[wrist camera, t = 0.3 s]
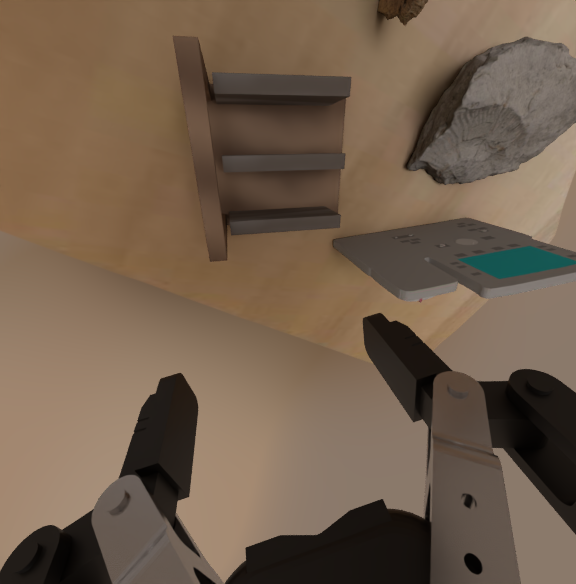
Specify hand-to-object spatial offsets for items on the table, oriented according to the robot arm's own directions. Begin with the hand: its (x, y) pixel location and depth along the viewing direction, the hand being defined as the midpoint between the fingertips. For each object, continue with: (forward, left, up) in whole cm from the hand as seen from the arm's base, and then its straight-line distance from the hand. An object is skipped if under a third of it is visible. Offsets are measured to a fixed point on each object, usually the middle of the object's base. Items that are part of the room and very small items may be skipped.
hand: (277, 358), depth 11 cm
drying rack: (-7, +5, -29) cm, 30 cm away
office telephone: (+4, +25, -29) cm, 38 cm away
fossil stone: (-11, +33, -29) cm, 45 cm away
